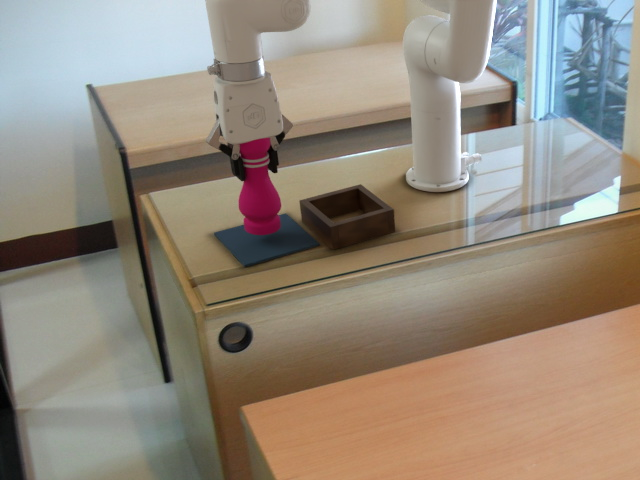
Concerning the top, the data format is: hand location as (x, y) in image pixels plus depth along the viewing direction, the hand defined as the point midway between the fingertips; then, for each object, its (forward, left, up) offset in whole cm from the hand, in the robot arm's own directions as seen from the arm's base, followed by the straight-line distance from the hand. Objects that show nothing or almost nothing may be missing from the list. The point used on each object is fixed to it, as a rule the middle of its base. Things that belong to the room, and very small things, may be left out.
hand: (256, 173), depth 160 cm
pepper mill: (0, 0, -10) cm, 10 cm away
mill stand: (-15, +3, -13) cm, 20 cm away
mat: (0, 0, -13) cm, 13 cm away
